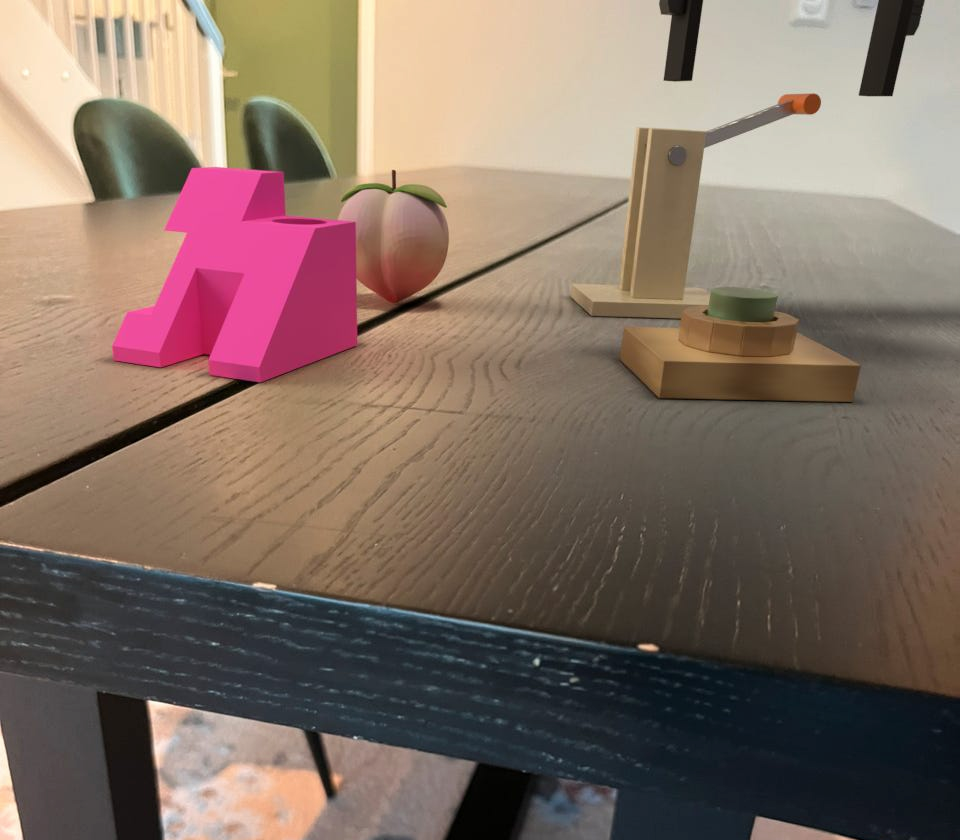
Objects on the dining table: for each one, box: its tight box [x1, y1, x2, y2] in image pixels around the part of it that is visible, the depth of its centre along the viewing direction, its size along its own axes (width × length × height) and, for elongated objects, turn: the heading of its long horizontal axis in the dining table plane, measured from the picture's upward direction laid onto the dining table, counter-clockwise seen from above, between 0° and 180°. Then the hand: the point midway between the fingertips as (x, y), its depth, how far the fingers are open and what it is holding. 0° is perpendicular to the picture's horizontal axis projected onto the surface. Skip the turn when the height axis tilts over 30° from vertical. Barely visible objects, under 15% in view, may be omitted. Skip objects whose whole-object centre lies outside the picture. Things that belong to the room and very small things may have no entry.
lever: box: [645, 92, 822, 149], centre depth 78 cm, size 13×6×2 cm, turn 96°
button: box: [707, 286, 778, 322], centre depth 60 cm, size 4×4×2 cm
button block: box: [619, 305, 862, 403], centre depth 61 cm, size 12×10×4 cm
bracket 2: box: [570, 126, 711, 320], centre depth 81 cm, size 12×9×14 cm
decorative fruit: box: [337, 169, 450, 304], centre depth 79 cm, size 9×8×10 cm
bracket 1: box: [111, 166, 358, 383], centre depth 60 cm, size 12×10×10 cm
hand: (778, 89), depth 61 cm, fingers open, 13 cm apart
